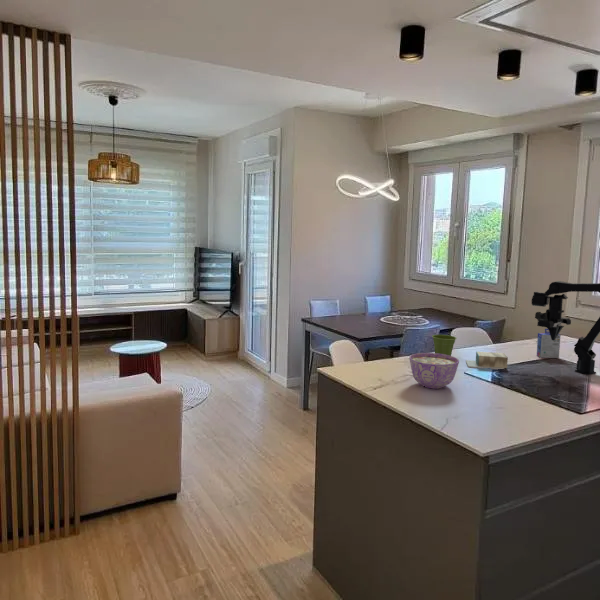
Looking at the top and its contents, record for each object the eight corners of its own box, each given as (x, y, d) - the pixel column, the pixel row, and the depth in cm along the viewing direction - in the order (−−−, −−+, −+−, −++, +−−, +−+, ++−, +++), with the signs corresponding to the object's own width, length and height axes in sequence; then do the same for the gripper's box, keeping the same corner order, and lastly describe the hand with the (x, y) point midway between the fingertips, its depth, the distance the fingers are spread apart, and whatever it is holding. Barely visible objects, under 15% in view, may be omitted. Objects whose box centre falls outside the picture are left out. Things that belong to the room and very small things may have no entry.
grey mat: (500, 363, 254) (500, 362, 254) (504, 369, 242) (504, 368, 242) (465, 361, 257) (465, 360, 257) (468, 367, 246) (468, 366, 246)
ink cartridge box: (554, 355, 272) (556, 328, 270) (559, 358, 267) (561, 330, 265) (535, 355, 273) (537, 328, 271) (540, 357, 267) (542, 330, 265)
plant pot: (456, 362, 255) (457, 339, 253) (431, 360, 257) (432, 338, 256) (454, 356, 266) (455, 335, 265) (430, 355, 269) (431, 333, 267)
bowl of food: (422, 394, 203) (424, 365, 202) (399, 380, 222) (400, 353, 221) (467, 391, 209) (469, 363, 207) (441, 377, 228) (442, 351, 226)
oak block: (504, 353, 252) (476, 351, 254) (507, 357, 243) (478, 355, 245) (503, 363, 252) (475, 361, 255) (507, 367, 243) (477, 366, 246)
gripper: (550, 304, 258) (548, 335, 260) (528, 307, 248) (526, 339, 250) (572, 307, 249) (570, 339, 251) (550, 310, 239) (547, 343, 241)
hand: (553, 340), depth 248 cm, fingers closed
